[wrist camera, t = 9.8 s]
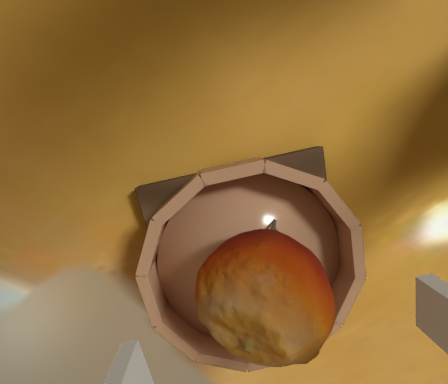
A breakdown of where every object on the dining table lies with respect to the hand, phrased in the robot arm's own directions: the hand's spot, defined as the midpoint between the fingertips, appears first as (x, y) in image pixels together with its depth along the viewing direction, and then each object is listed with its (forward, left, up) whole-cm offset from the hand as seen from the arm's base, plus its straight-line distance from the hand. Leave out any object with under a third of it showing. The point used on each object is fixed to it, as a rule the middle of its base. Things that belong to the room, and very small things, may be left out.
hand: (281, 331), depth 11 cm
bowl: (0, 0, -7) cm, 8 cm away
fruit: (0, 0, -7) cm, 7 cm away
